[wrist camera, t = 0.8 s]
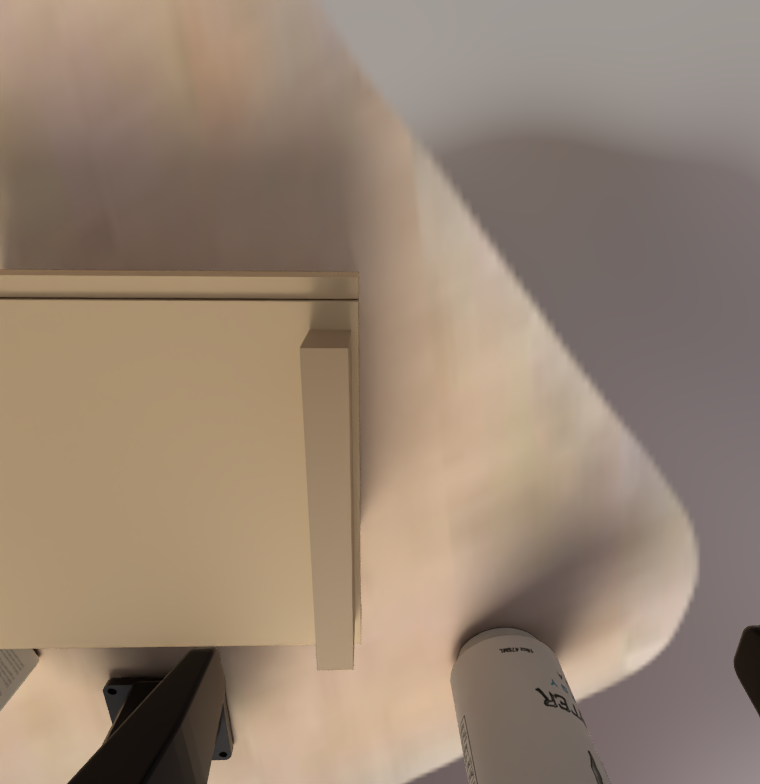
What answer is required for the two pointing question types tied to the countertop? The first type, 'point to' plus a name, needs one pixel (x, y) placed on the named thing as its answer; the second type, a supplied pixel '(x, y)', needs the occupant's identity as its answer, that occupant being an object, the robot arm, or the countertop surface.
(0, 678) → the ink box
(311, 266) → the countertop surface
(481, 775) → the energy drink can
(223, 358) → the lid
